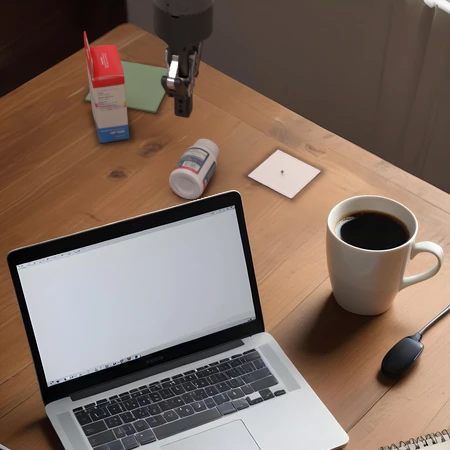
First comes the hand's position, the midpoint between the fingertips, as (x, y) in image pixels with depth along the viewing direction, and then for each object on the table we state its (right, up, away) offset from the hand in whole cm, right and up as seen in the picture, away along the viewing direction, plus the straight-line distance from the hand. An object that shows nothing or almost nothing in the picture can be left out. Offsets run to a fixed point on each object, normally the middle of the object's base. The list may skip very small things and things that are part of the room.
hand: (183, 114), depth 115 cm
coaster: (+15, -6, +12) cm, 20 cm away
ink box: (-12, +3, +18) cm, 22 cm away
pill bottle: (0, -9, +5) cm, 11 cm away
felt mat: (-10, +11, +25) cm, 29 cm away
